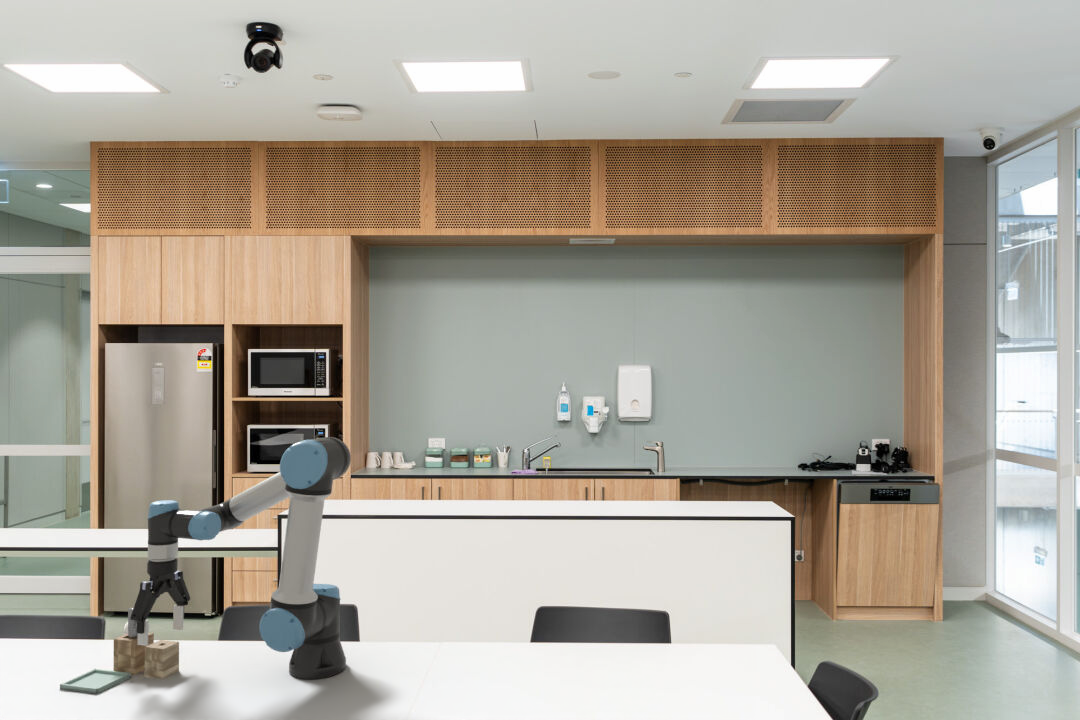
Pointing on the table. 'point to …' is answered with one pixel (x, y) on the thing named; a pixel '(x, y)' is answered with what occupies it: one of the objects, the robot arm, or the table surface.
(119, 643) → the wide-bore block
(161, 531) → the robot arm
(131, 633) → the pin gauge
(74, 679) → the tray
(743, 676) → the table surface
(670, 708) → the table surface
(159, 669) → the narrow-bore block
